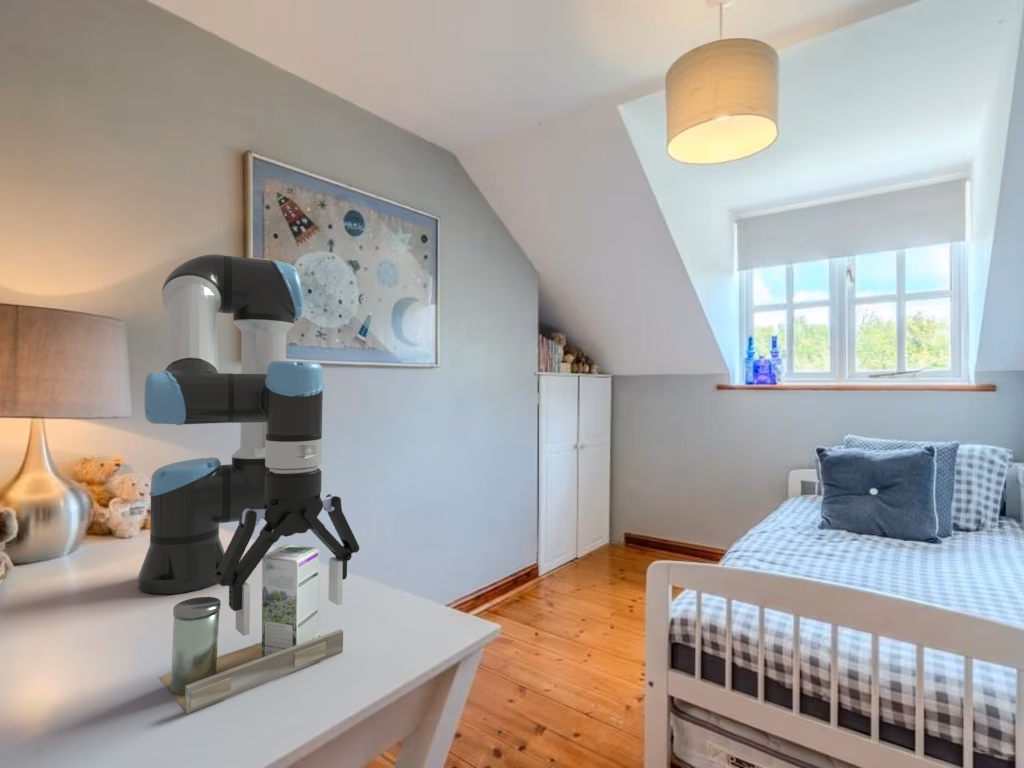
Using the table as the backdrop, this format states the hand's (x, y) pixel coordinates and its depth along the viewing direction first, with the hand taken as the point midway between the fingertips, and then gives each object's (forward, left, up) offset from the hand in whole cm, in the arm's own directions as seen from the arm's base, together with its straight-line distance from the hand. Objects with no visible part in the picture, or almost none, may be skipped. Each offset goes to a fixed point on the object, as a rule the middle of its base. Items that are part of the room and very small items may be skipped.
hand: (291, 616), depth 78 cm
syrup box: (0, 0, -5) cm, 5 cm away
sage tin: (0, -12, -5) cm, 13 cm away
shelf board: (0, -5, -6) cm, 8 cm away
